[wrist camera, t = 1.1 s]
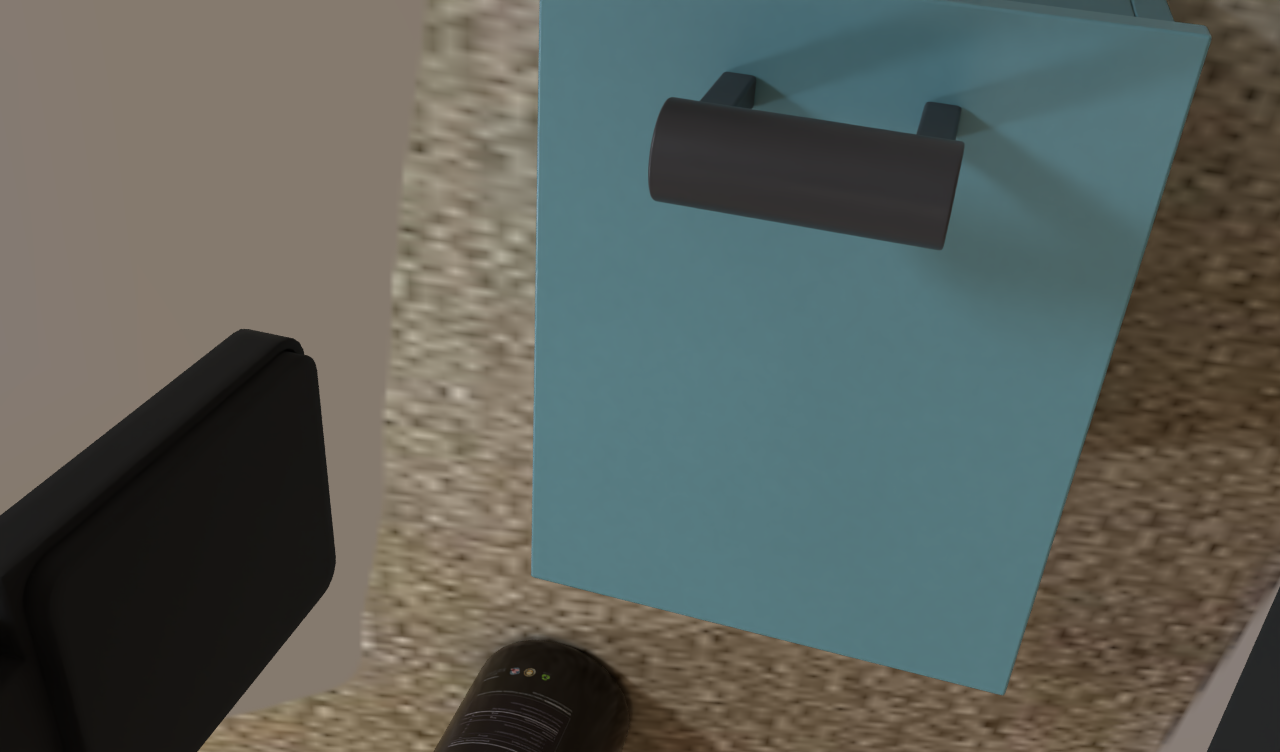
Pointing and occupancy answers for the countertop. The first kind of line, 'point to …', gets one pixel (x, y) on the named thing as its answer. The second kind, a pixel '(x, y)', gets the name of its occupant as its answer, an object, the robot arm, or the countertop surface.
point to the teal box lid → (835, 304)
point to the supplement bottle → (539, 704)
